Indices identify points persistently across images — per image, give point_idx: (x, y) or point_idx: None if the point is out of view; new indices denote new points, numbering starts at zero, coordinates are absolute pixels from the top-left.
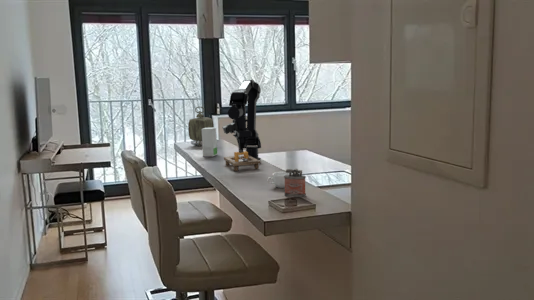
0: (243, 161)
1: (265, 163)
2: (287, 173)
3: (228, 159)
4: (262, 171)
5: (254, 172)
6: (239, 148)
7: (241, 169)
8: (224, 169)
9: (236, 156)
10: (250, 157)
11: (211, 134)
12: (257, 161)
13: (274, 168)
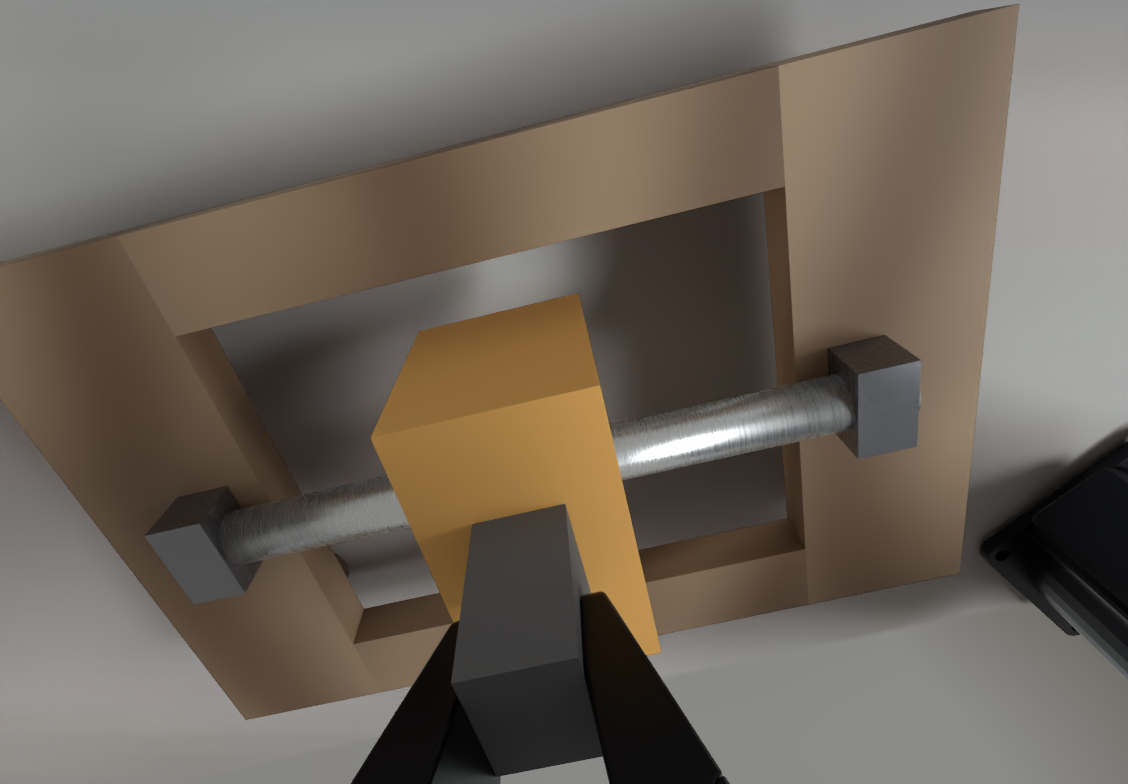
0: (203, 491)
1: (713, 662)
2: None
3: (538, 154)
4: (135, 626)
5: (46, 541)
6: (460, 623)
7: (296, 371)
8: (313, 30)
9: (392, 399)
10: (662, 599)
11: None
12: (223, 685)
13: (344, 732)
